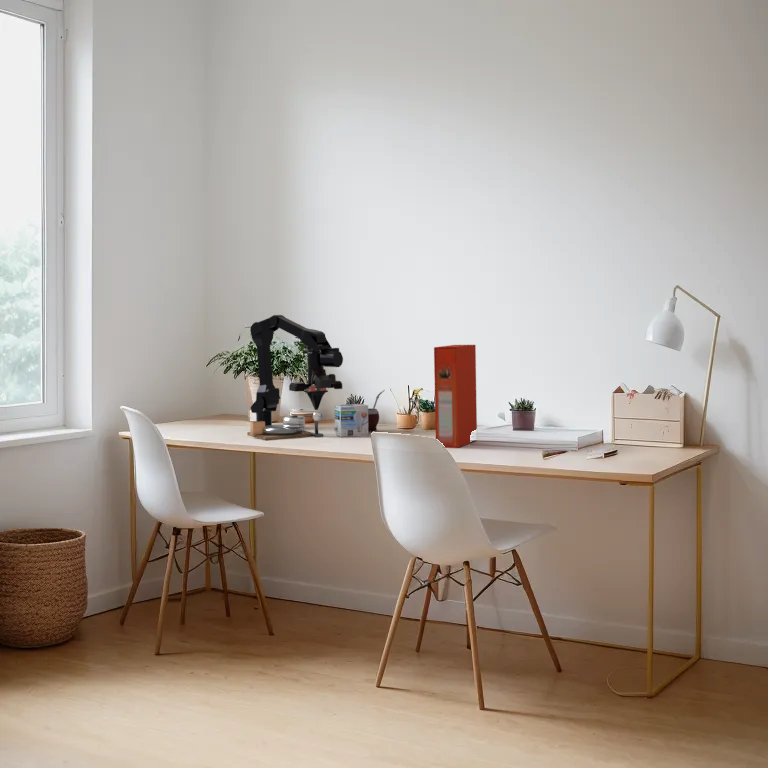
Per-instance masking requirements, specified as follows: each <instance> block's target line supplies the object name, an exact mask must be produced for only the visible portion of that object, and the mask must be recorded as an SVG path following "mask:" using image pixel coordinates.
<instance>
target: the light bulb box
mask: <svg viewBox="0 0 768 768" xmlns="http://www.w3.org/2000/svg"><path fill="white" fill-rule="evenodd" d="M368 409H369V405H367V404H364V403H351V404H350V403H347V404H335V405H334V434H335V436H338V437H340V438H344V437H345V438H347V437H362V436H363V437H364V436H369V432H368Z"/></svg>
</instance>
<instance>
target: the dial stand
mask: <svg viewBox="0 0 768 768" xmlns="http://www.w3.org/2000/svg"><path fill="white" fill-rule="evenodd" d="M303 416H304V417H305V418H312V419H313V421H314V432H313V433H311V436H310V437H312V438H323V437H324V434H323V433H321V432H319V422H320V421H322V418H323V414H322V413H321V412H319V411H315V412H313V414H312V415H311V414H310V415H309V414H307V415H306V414H305V415H303Z"/></svg>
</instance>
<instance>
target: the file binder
mask: <svg viewBox="0 0 768 768" xmlns="http://www.w3.org/2000/svg"><path fill="white" fill-rule="evenodd" d="M476 353H477V351H476V344H452V345H443V346H442V345H441V346H436V347H435V346H434V347H433V361H434V363H433V365H434V367H433V369H434V370H433V371H434V373H433V374H434V409H435V410H434V412H435V413H434V415H435V417H434V418H435V419H434V420H435V427H434V428H435V440H436V439H438V440H439V441H440V442H441V443H443V445H444V446H445V447H444V448H445V449H446V448H447V449H448V448H450V449H451V448H454V449H457V448H461V447H463V446H466V445H469V444H471V443H470V435H471V432H472V431H474V430H476V429H477V430H478V427H477V426H478V425H477V424H478V421H477V420H478V418H477V415H478V414H477V358H476V357H477V356H476V355H477V354H476Z"/></svg>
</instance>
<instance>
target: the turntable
mask: <svg viewBox="0 0 768 768" xmlns="http://www.w3.org/2000/svg"><path fill="white" fill-rule="evenodd" d="M249 423H250V432H251V434H252V435H259V434H265V435H290V434H298V433H302V430H303V427H296V428H287V427H282V424H272V425H268V426H265V422H264V421H257V422H256V421H250V422H249Z"/></svg>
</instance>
